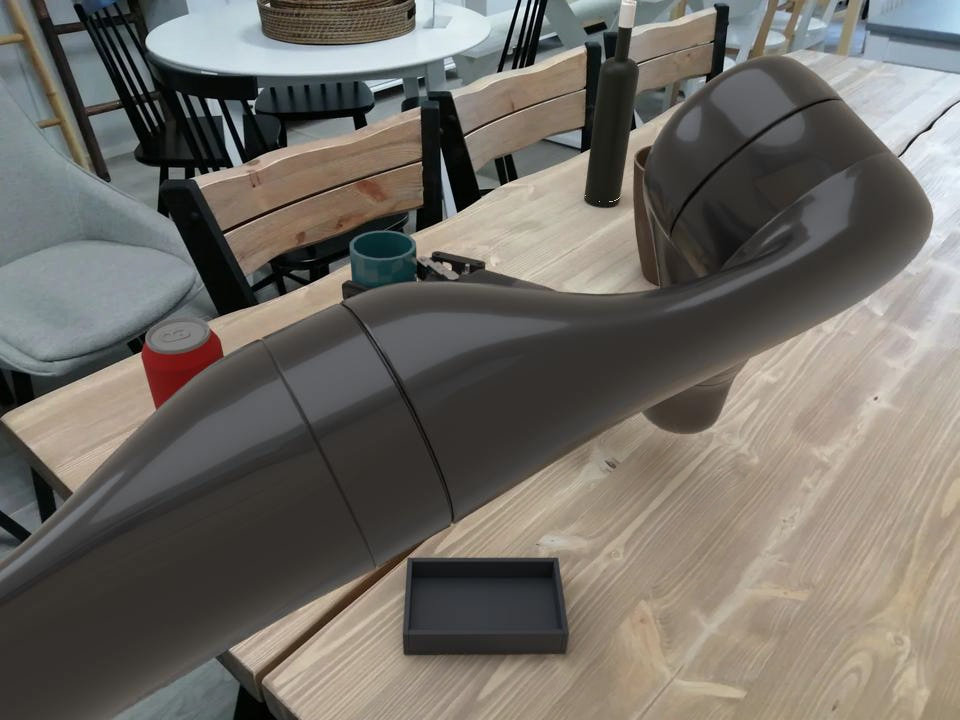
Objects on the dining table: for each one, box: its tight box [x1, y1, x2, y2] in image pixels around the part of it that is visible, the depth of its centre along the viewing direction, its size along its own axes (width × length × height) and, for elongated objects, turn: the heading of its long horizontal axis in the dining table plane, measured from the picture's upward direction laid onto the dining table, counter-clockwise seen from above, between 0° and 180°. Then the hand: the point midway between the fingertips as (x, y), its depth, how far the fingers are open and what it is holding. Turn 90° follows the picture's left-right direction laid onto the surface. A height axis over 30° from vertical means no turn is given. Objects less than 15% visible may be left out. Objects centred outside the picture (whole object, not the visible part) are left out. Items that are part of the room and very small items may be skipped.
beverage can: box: [140, 316, 225, 411], centre depth 68 cm, size 7×7×12 cm
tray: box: [402, 557, 570, 656], centre depth 56 cm, size 12×7×2 cm, turn 92°
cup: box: [349, 230, 418, 288], centre depth 75 cm, size 6×6×10 cm
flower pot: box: [632, 144, 659, 286], centre depth 97 cm, size 15×15×16 cm
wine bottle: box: [583, 0, 640, 208], centre depth 112 cm, size 6×6×30 cm
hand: (365, 275), depth 75 cm, fingers closed on cup, 6 cm apart
